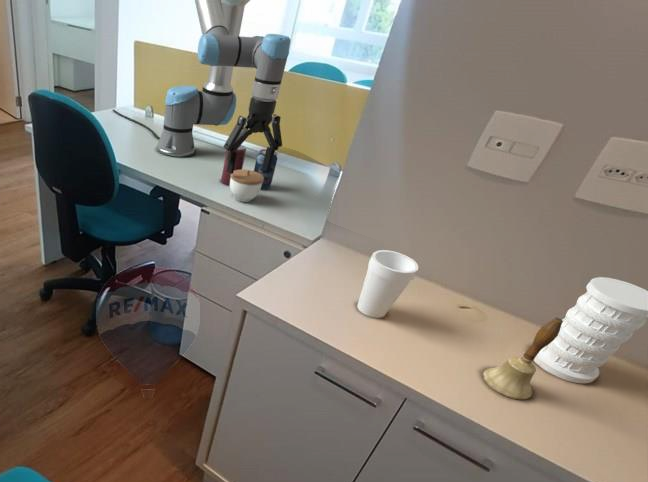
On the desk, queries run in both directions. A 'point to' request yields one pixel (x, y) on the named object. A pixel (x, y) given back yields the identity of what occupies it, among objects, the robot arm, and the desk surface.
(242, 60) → the robot arm
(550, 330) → the hand bell
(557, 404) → the desk surface
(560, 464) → the desk surface
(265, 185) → the soda can
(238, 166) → the aluminium can
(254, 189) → the trinket box
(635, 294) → the decorative container
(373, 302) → the foam cup
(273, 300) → the desk surface
